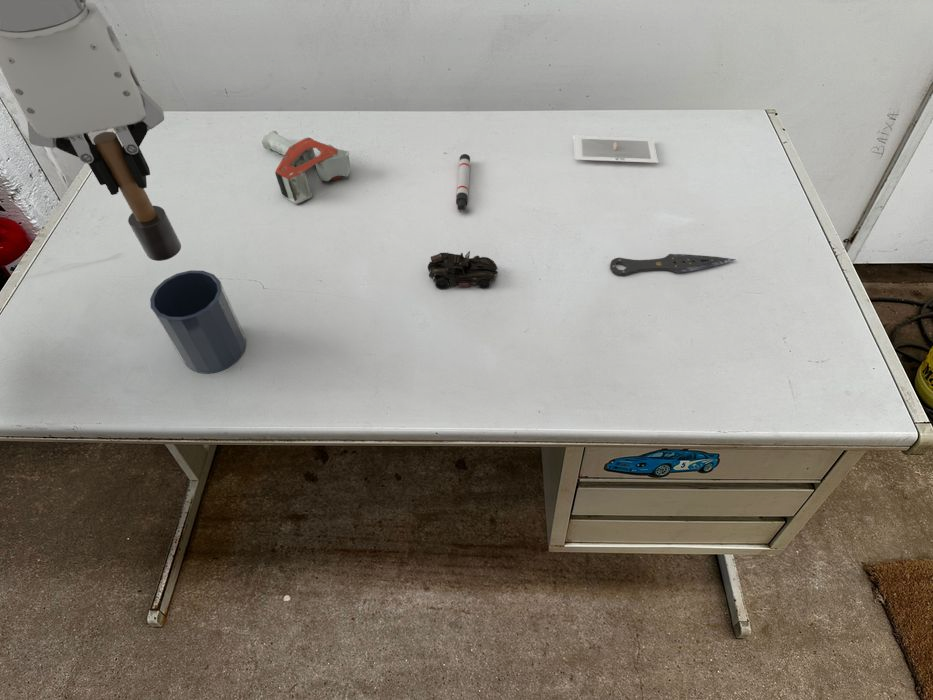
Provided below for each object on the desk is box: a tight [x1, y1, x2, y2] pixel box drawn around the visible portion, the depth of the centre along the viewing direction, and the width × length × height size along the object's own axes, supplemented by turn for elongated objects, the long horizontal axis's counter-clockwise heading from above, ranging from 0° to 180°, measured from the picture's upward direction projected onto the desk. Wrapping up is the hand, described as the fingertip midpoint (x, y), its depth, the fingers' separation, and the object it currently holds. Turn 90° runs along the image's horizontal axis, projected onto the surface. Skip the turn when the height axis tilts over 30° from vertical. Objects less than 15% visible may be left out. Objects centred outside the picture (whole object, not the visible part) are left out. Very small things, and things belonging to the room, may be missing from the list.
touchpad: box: [572, 134, 659, 164], centre depth 113 cm, size 8×15×2 cm, turn 86°
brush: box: [92, 131, 182, 262], centre depth 67 cm, size 4×4×15 cm
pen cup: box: [149, 269, 247, 374], centre depth 81 cm, size 9×9×11 cm
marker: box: [455, 153, 471, 213], centre depth 107 cm, size 15×2×2 cm, turn 178°
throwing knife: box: [609, 253, 737, 277], centre depth 94 cm, size 4×20×1 cm, turn 95°
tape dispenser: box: [261, 130, 351, 205], centre depth 109 cm, size 18×5×20 cm
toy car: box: [427, 250, 498, 290], centre depth 92 cm, size 6×12×4 cm, turn 85°
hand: (128, 183), depth 65 cm, fingers closed on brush, 2 cm apart
